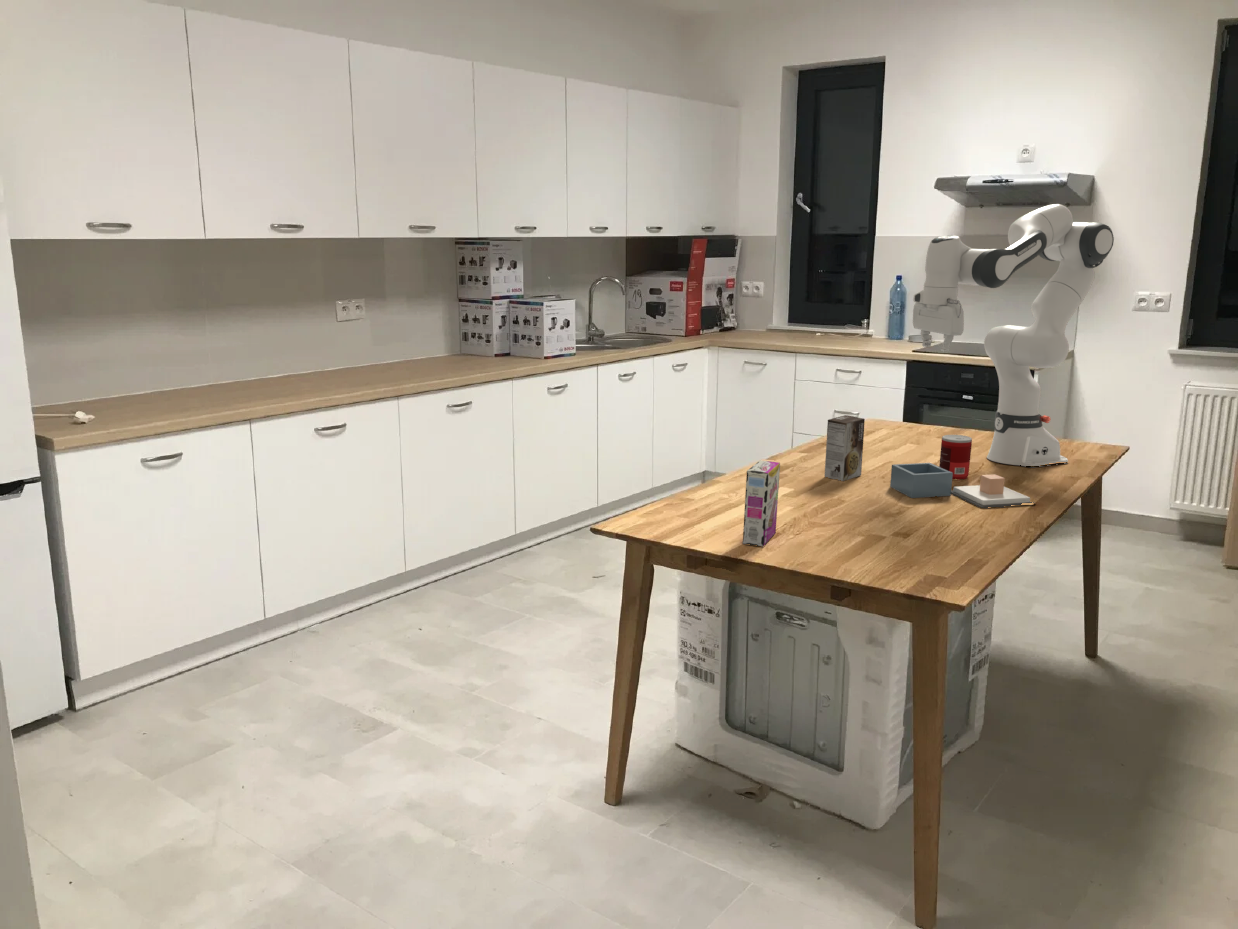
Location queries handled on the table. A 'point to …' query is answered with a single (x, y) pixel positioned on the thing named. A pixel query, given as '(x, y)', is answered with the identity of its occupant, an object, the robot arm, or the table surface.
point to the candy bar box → (761, 502)
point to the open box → (921, 480)
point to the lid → (991, 492)
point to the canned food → (956, 455)
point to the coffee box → (844, 447)
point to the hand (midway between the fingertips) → (935, 348)
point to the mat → (983, 505)
